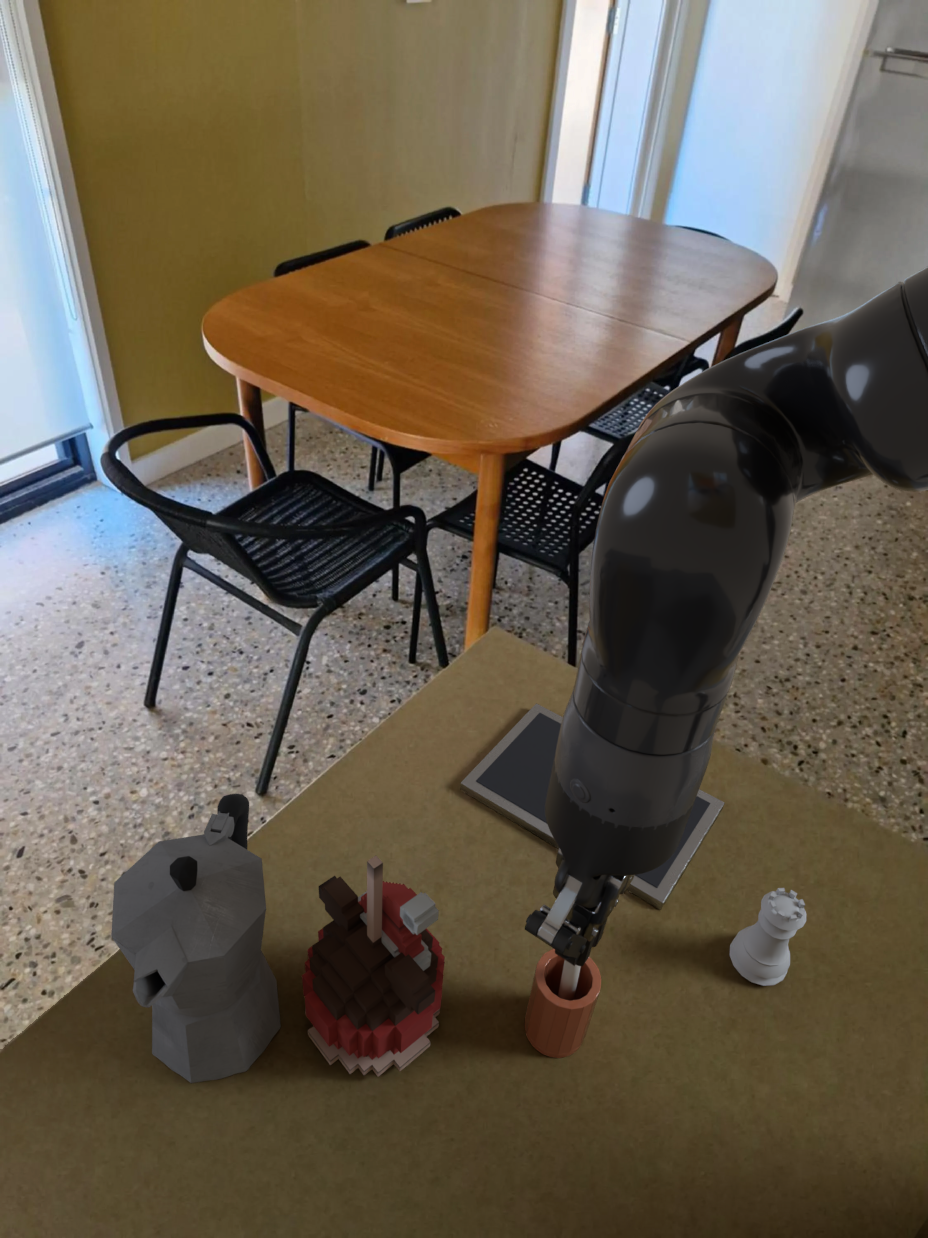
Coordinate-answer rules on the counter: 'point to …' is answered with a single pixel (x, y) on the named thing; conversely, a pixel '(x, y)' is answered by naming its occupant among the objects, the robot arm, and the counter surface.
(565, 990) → the stylus
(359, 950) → the cake
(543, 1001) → the pen cup
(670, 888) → the tablet
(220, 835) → the coffeepot
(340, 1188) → the counter surface
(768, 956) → the rook chess piece
